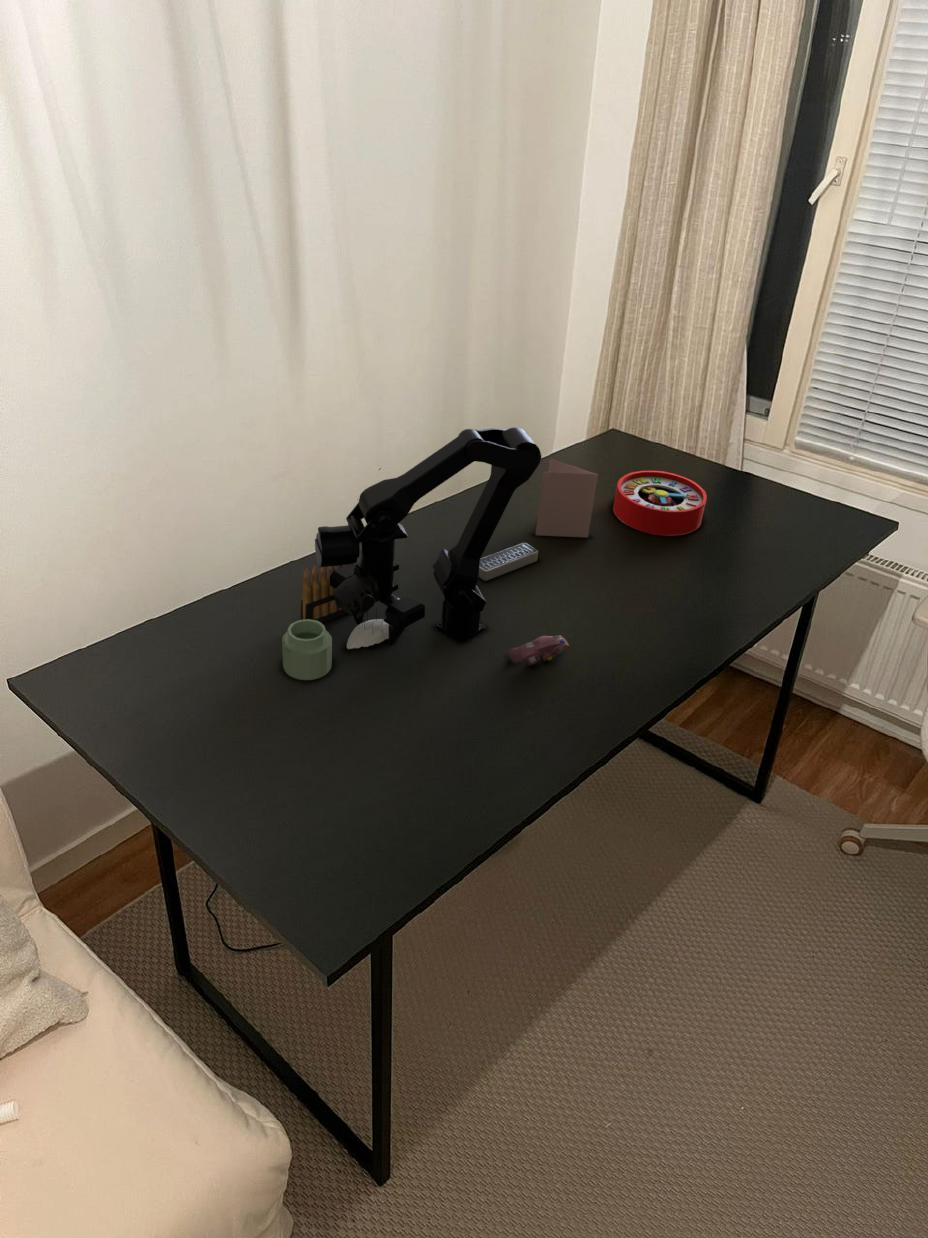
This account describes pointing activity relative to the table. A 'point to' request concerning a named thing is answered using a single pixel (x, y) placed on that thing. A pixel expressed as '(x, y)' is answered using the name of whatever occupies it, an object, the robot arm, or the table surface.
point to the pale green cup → (307, 650)
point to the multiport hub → (507, 561)
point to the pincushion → (368, 633)
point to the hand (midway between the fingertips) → (375, 633)
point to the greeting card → (566, 501)
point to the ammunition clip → (319, 596)
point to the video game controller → (539, 649)
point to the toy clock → (659, 503)
